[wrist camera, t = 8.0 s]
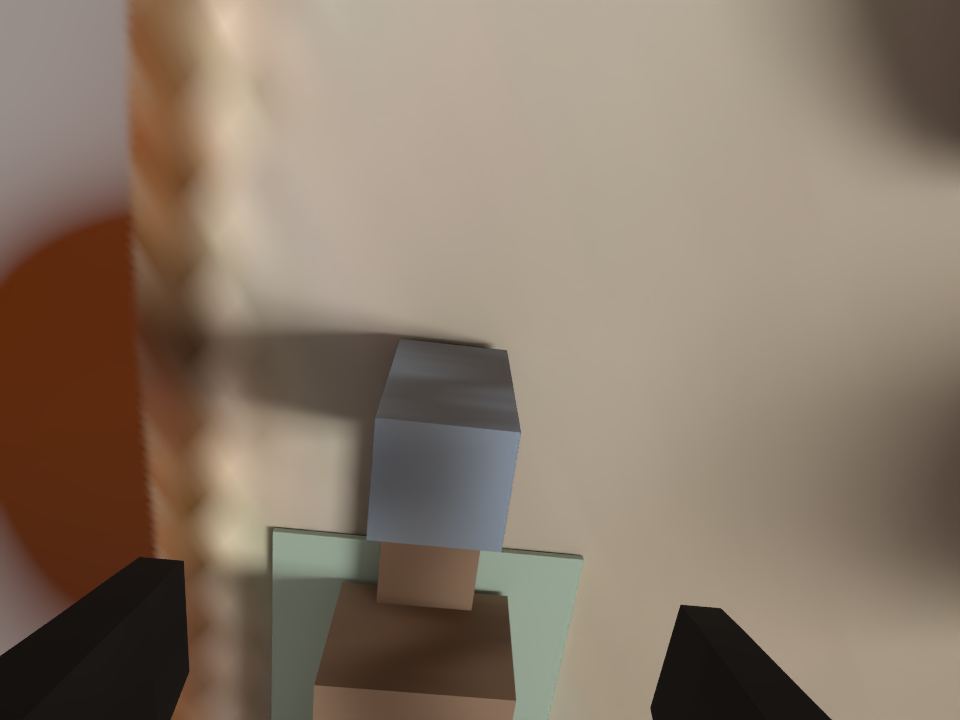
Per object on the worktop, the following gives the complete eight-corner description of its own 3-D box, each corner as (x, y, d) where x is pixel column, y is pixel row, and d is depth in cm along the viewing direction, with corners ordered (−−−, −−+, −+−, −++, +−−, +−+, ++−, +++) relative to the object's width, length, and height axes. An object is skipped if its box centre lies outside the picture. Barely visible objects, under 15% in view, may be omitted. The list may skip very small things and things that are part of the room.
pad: (582, 555, 21) (583, 559, 20) (539, 751, 24) (540, 756, 24) (274, 527, 20) (272, 531, 20) (272, 731, 23) (271, 736, 23)
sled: (548, 355, 18) (578, 438, 13) (478, 767, 23) (480, 928, 19) (356, 333, 17) (315, 411, 13) (332, 756, 23) (298, 918, 18)
